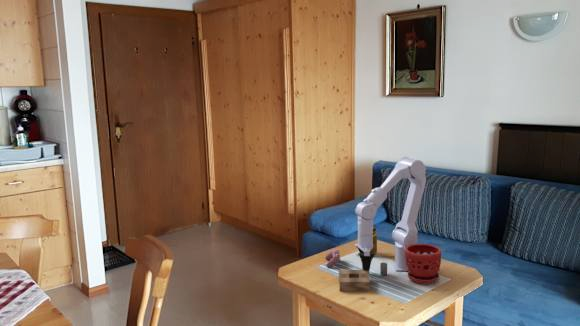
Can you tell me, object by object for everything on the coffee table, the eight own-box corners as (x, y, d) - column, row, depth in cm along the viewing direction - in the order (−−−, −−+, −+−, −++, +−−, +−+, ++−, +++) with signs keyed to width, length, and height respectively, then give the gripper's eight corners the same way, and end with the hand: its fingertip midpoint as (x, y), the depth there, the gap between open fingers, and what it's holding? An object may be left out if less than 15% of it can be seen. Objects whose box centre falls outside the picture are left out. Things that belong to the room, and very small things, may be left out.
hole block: (367, 278, 185) (367, 269, 184) (370, 290, 174) (370, 281, 173) (338, 278, 186) (338, 269, 185) (339, 291, 175) (339, 281, 174)
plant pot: (447, 277, 183) (447, 247, 180) (429, 289, 174) (429, 257, 171) (416, 269, 192) (416, 240, 190) (398, 279, 183) (398, 249, 181)
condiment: (381, 253, 210) (381, 227, 208) (369, 259, 204) (369, 231, 202) (367, 249, 215) (366, 223, 213) (355, 255, 209) (355, 228, 207)
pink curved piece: (335, 271, 196) (343, 256, 195) (325, 267, 196) (332, 252, 195) (333, 262, 206) (340, 248, 205) (324, 258, 206) (331, 244, 205)
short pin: (386, 273, 189) (386, 262, 188) (387, 276, 186) (387, 264, 186) (380, 273, 189) (380, 262, 188) (380, 276, 186) (380, 265, 186)
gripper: (353, 228, 193) (354, 260, 195) (356, 239, 178) (356, 274, 181) (371, 227, 192) (371, 260, 194) (375, 239, 178) (375, 274, 180)
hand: (365, 267), depth 187 cm, fingers open, 6 cm apart
